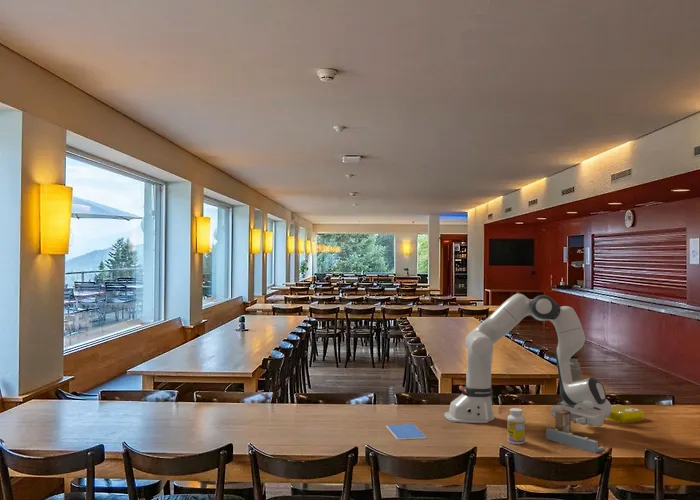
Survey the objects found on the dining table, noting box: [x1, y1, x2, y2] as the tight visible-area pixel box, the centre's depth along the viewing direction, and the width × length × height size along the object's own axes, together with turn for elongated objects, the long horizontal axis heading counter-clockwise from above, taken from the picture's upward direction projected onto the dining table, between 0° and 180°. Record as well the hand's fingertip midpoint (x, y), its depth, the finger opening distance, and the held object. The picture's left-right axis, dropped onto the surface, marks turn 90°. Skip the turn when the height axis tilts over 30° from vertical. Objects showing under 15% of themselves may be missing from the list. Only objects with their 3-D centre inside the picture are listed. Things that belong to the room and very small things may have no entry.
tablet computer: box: [385, 423, 428, 441], centre depth 235 cm, size 19×13×1 cm, turn 10°
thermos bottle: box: [562, 354, 582, 408], centre depth 264 cm, size 8×8×28 cm
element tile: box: [607, 403, 645, 424], centre depth 262 cm, size 15×15×5 cm
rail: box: [545, 427, 605, 454], centre depth 222 cm, size 6×21×5 cm, turn 36°
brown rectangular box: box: [554, 410, 572, 434], centre depth 228 cm, size 6×3×11 cm, turn 121°
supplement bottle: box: [506, 407, 526, 445], centre depth 223 cm, size 7×7×13 cm
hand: (564, 418), depth 229 cm, fingers open, 8 cm apart
